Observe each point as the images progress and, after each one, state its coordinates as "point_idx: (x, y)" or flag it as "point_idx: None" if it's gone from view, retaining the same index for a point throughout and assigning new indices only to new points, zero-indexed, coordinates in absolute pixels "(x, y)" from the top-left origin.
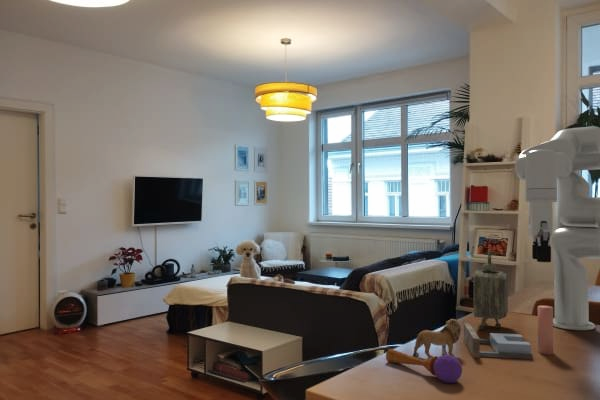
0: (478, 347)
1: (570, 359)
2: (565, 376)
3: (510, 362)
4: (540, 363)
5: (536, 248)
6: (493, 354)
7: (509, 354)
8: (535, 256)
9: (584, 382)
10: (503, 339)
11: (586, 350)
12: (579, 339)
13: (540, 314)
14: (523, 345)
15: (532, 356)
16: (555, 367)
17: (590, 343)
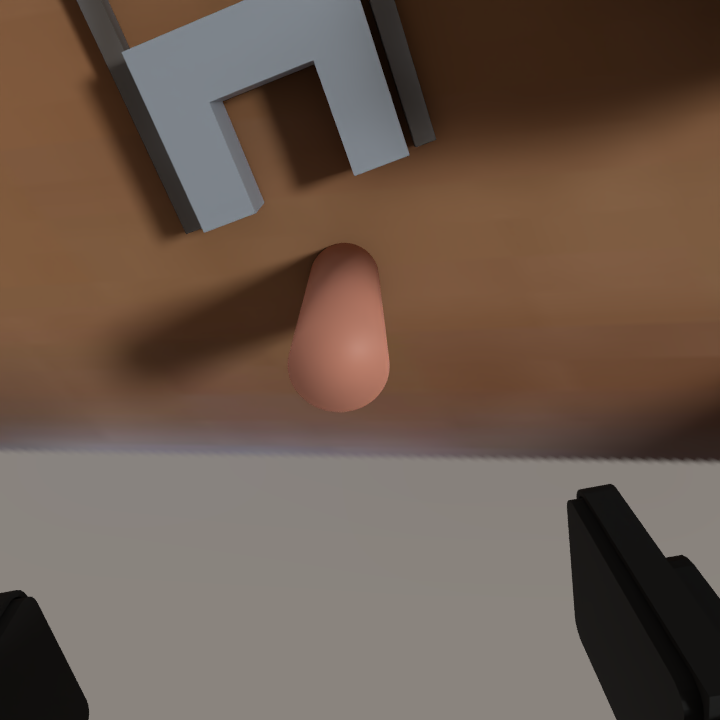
0: None
1: (288, 376)
2: (32, 364)
3: (70, 135)
4: (146, 266)
5: (644, 681)
6: (96, 36)
7: (135, 122)
8: (580, 547)
9: (8, 423)
10: (228, 73)
11: (473, 431)
12: (668, 405)
13: (301, 322)
14: (189, 194)
15: (186, 231)
16: (128, 326)
17: (608, 446)
